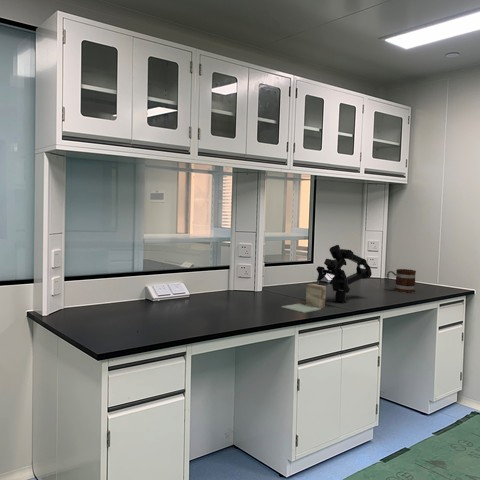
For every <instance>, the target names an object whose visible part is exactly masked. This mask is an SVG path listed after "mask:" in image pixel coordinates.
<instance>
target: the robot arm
mask: <svg viewBox="0 0 480 480" xmlns="http://www.w3.org/2000/svg"><path fill="white" fill-rule="evenodd" d="M329 253H330V255H331V257H332V258H333V259H331V258H325V261H324V262H323V264H324V265H325V266H326V268H325V267H324V266H317V267H316V272H317V274H318V275H317V279H316V282H317V283H318V282H320V281H322V280H323V279H324V278H325V277H326V276H327V274H329V275H331V276H333V277H332V278H331V280H330V281H329V285H332V291H333V292H335V298H334V299H333V300H332V301H333V302H336V303H343V304H344V303H348V302H349V301H348V300H347V293H350V289H351V288H350V287H349V286H350V285H351V284H353V283H356V282H358V281H359V280H362V279H363V280H367V279H371V276H372V268H371V267H370V265H369V263H367V260H366V259H365V258H363V257H361V256H358V255H356V254H355V253H354V252H353V250H351V249H347V248H346V249H345V248H341V247H340V245H339V244H335V245H333V246H330V247H329ZM347 260H349V261H351V262H353V263H356V268H355V270H356V272H354V273H353V274H350V275H348V276H347V274H346V272H345V270H344V269H342V267H343V266H347V263H348V262H347ZM361 266H363V267H362V268H361Z"/></svg>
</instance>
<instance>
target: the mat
mask: <svg viewBox="0 0 480 480" xmlns="http://www.w3.org/2000/svg"><path fill="white" fill-rule="evenodd" d="M281 308H282V309H287V310H291V311H295V312H297V313H298V312H299V313H303V314H306V313H311V312H315V311H321V310H322V308H316V307H312V306H308V305H306V304H303V303H295V304H287V305H282V306H281Z"/></svg>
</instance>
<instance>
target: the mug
mask: <svg viewBox="0 0 480 480" xmlns="http://www.w3.org/2000/svg"><path fill="white" fill-rule="evenodd" d="M395 272H396V273H395ZM395 272H394V271H393V270H389V271H388V272H387V274H386V277H387V279H386V282H387V284H386V285H387V287H388V288H390V289H391V288H395V289H394V291H395V292H397V291H398V293H402V292H406V293H405V294H413V293H412V292H414V293H415V292H416V291H415V288H416V274H417V270H414V269H406V268H405V269H404V268H397V269H396V271H395ZM390 274H393V275H394V276H396V277H395V285H390V284H389V283H390V276H389V275H390Z"/></svg>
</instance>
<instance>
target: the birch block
mask: <svg viewBox="0 0 480 480" xmlns="http://www.w3.org/2000/svg"><path fill="white" fill-rule="evenodd" d="M305 291H306V293H305V305H308V306H312V307H316V308H320V309H323V308H326V297H327V295H326V294H327V293H326V292H327V286H326V285H321V284H320V285H319V284H316V283H315V284H314V283H308V284H306V289H305Z"/></svg>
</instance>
